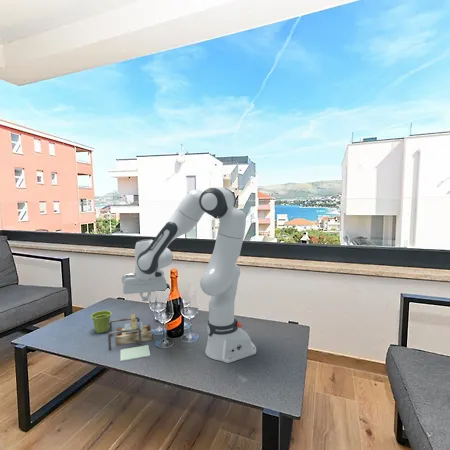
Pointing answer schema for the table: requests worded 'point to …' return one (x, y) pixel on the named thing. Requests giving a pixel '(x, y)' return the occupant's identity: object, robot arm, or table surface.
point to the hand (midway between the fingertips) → (145, 300)
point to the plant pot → (101, 321)
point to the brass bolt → (133, 321)
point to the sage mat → (134, 353)
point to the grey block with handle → (128, 326)
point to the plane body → (129, 338)
